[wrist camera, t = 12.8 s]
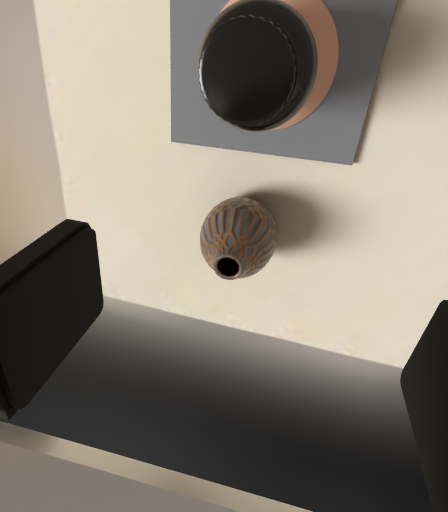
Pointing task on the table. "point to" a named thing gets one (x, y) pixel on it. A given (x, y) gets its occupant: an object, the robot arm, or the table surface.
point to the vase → (238, 238)
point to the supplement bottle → (257, 64)
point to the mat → (321, 97)
